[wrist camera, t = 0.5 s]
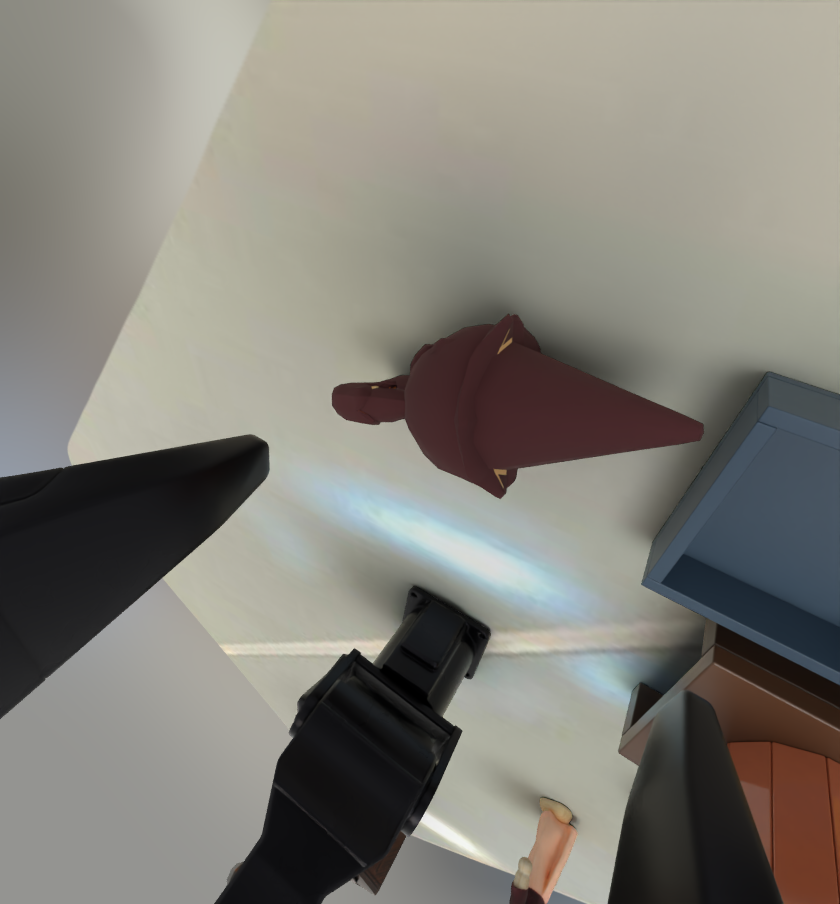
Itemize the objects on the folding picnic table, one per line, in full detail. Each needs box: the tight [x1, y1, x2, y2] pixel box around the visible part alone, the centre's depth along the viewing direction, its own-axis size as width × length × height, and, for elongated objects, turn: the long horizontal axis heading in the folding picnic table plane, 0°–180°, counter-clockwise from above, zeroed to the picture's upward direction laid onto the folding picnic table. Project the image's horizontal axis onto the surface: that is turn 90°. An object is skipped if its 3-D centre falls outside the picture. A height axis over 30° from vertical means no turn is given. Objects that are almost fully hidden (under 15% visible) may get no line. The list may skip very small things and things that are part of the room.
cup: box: [727, 741, 840, 904], centre depth 18 cm, size 7×7×8 cm
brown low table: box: [618, 618, 840, 766], centre depth 22 cm, size 10×12×4 cm
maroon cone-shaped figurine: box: [332, 314, 704, 499], centre depth 20 cm, size 7×7×15 cm
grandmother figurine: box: [510, 797, 577, 904], centre depth 36 cm, size 8×4×13 cm, turn 27°
